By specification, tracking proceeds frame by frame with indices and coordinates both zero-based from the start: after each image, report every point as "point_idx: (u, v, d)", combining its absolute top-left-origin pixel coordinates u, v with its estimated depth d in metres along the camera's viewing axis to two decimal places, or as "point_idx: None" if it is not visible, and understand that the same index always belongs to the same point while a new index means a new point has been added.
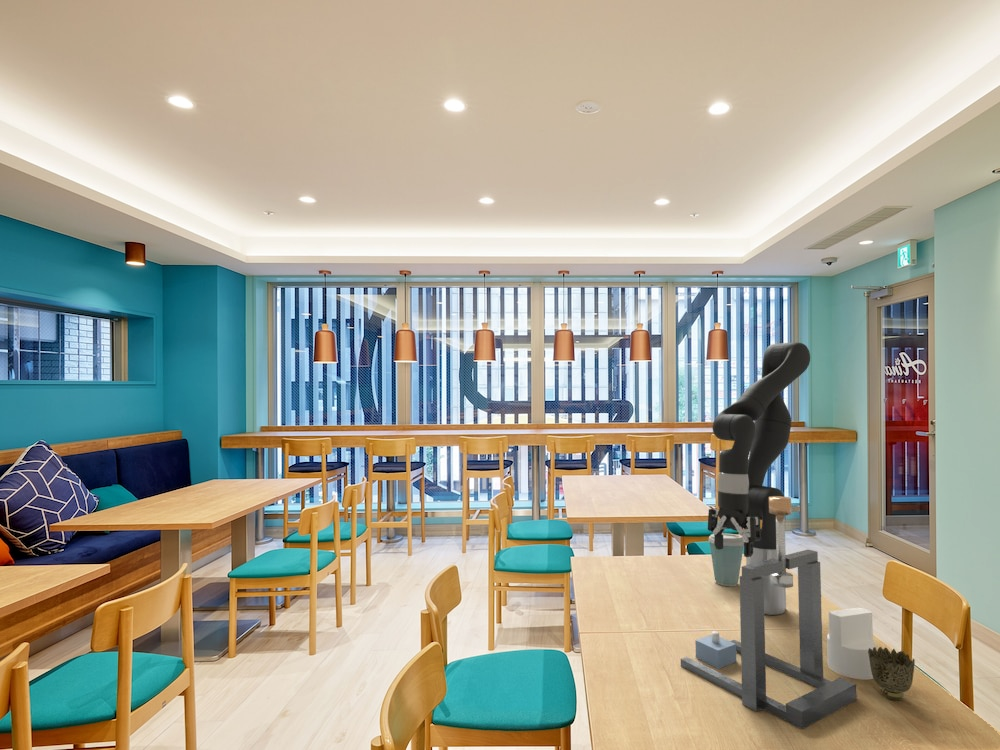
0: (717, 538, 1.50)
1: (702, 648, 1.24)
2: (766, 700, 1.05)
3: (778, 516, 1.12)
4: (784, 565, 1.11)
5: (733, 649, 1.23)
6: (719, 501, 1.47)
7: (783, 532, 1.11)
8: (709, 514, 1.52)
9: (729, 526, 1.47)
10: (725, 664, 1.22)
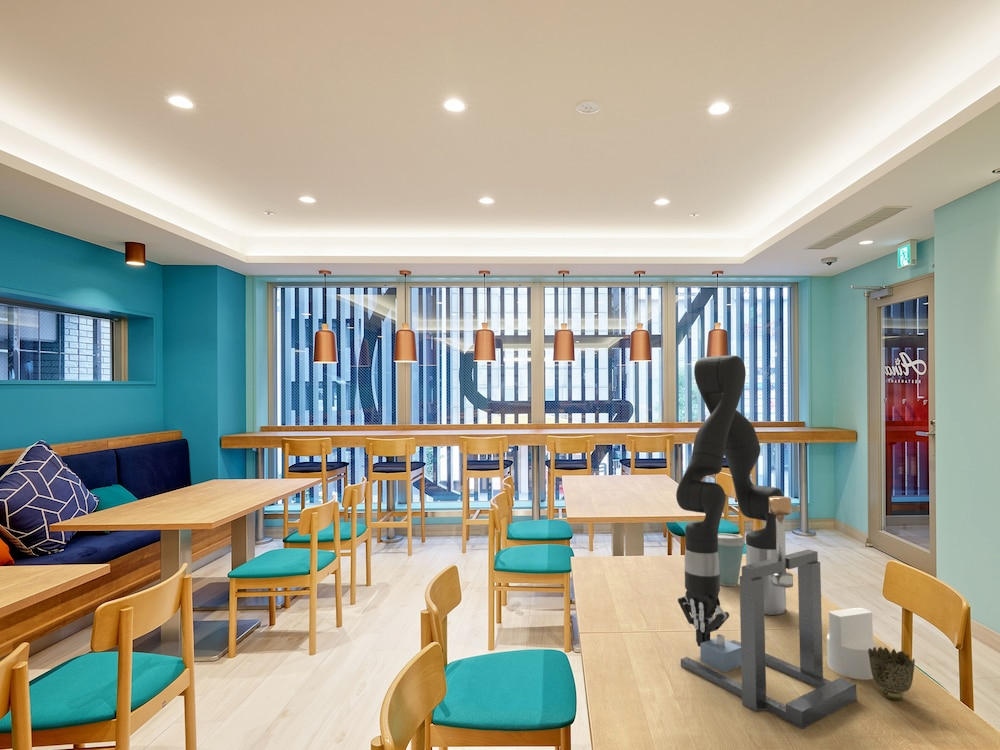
0: (699, 634, 1.27)
1: (707, 652, 1.22)
2: (766, 700, 1.05)
3: (778, 516, 1.12)
4: (784, 565, 1.11)
5: (738, 653, 1.22)
6: (686, 583, 1.28)
7: (783, 532, 1.11)
8: (681, 605, 1.32)
9: (698, 611, 1.28)
10: (730, 668, 1.20)
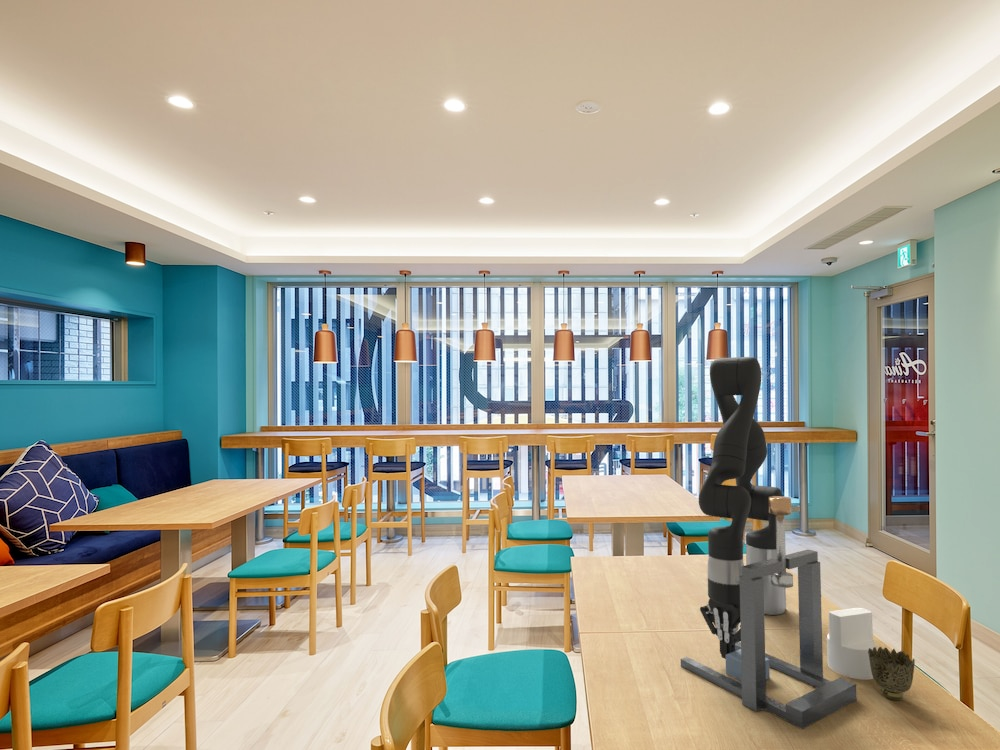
0: (723, 645, 1.22)
1: (733, 664, 1.17)
2: (766, 700, 1.05)
3: (778, 516, 1.12)
4: (784, 565, 1.11)
5: (766, 665, 1.16)
6: (709, 591, 1.22)
7: (783, 532, 1.11)
8: (703, 614, 1.26)
9: (722, 621, 1.22)
10: None
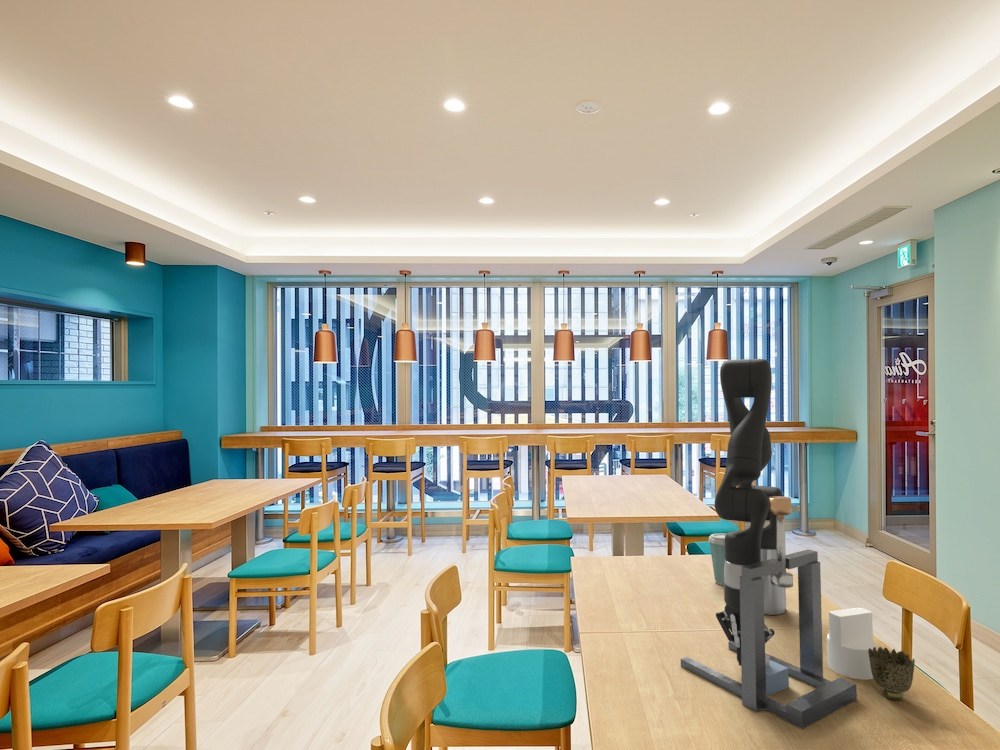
0: (740, 652, 1.18)
1: None
2: (766, 700, 1.05)
3: (778, 516, 1.12)
4: (784, 565, 1.11)
5: (785, 674, 1.12)
6: (726, 597, 1.19)
7: (783, 532, 1.11)
8: (719, 620, 1.23)
9: (739, 628, 1.18)
10: (777, 690, 1.11)
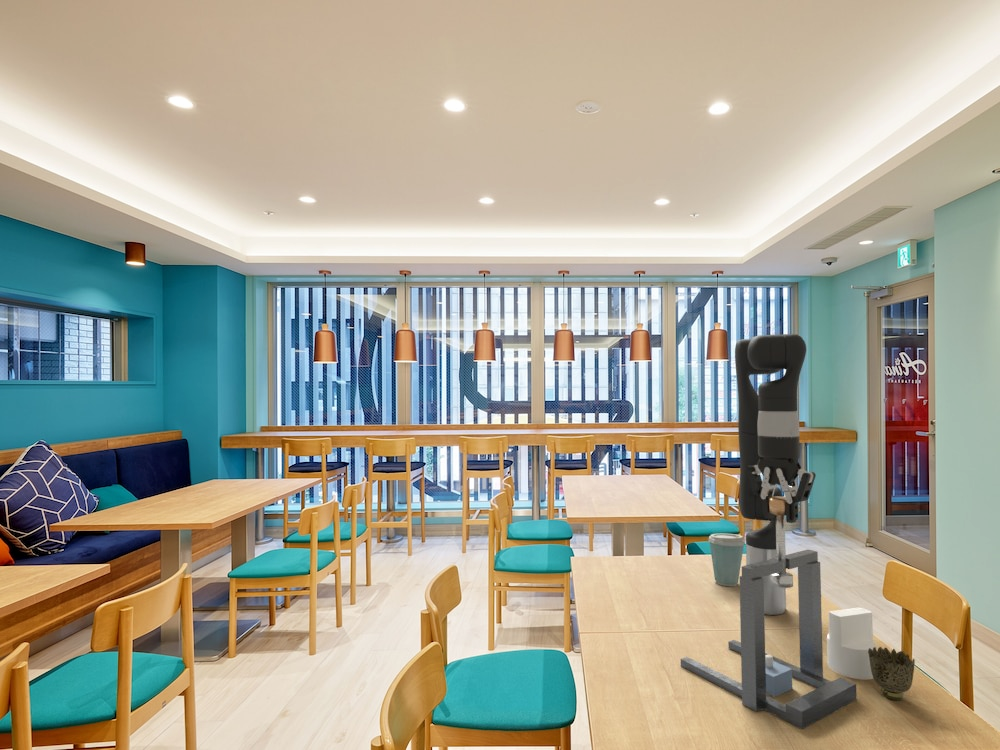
0: (766, 504, 1.14)
1: None
2: (766, 700, 1.05)
3: (778, 516, 1.12)
4: (784, 565, 1.11)
5: (788, 675, 1.12)
6: (760, 448, 1.12)
7: (783, 532, 1.11)
8: (748, 473, 1.17)
9: (774, 481, 1.12)
10: (781, 692, 1.10)
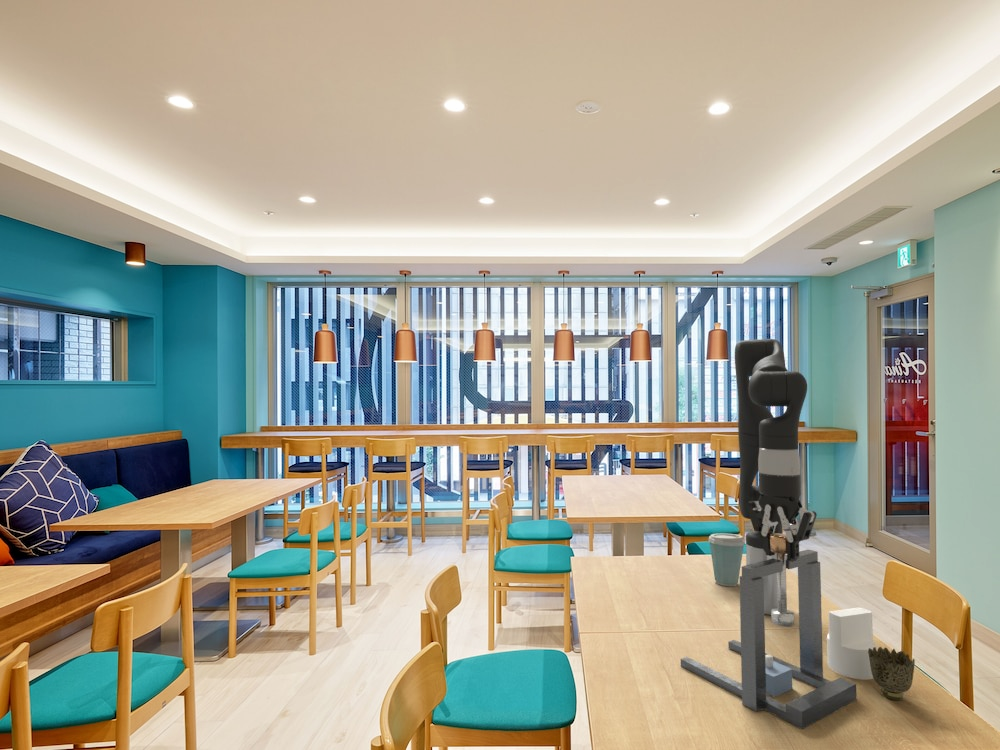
0: (767, 541, 1.13)
1: None
2: (766, 700, 1.05)
3: (779, 554, 1.11)
4: (785, 604, 1.11)
5: (788, 675, 1.12)
6: (761, 486, 1.12)
7: (784, 570, 1.11)
8: (749, 510, 1.17)
9: (775, 518, 1.12)
10: (781, 692, 1.10)
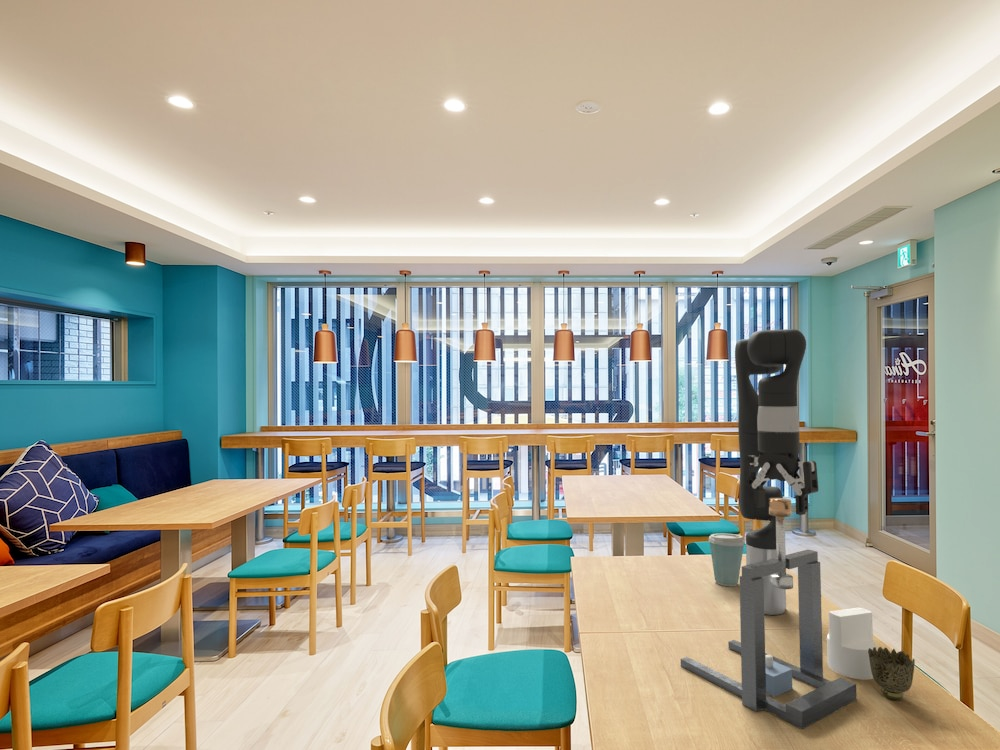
0: (757, 493, 1.15)
1: None
2: (766, 700, 1.05)
3: (778, 518, 1.12)
4: (784, 567, 1.11)
5: (788, 675, 1.12)
6: (760, 444, 1.12)
7: (783, 534, 1.11)
8: (746, 463, 1.17)
9: (774, 476, 1.12)
10: (781, 692, 1.10)
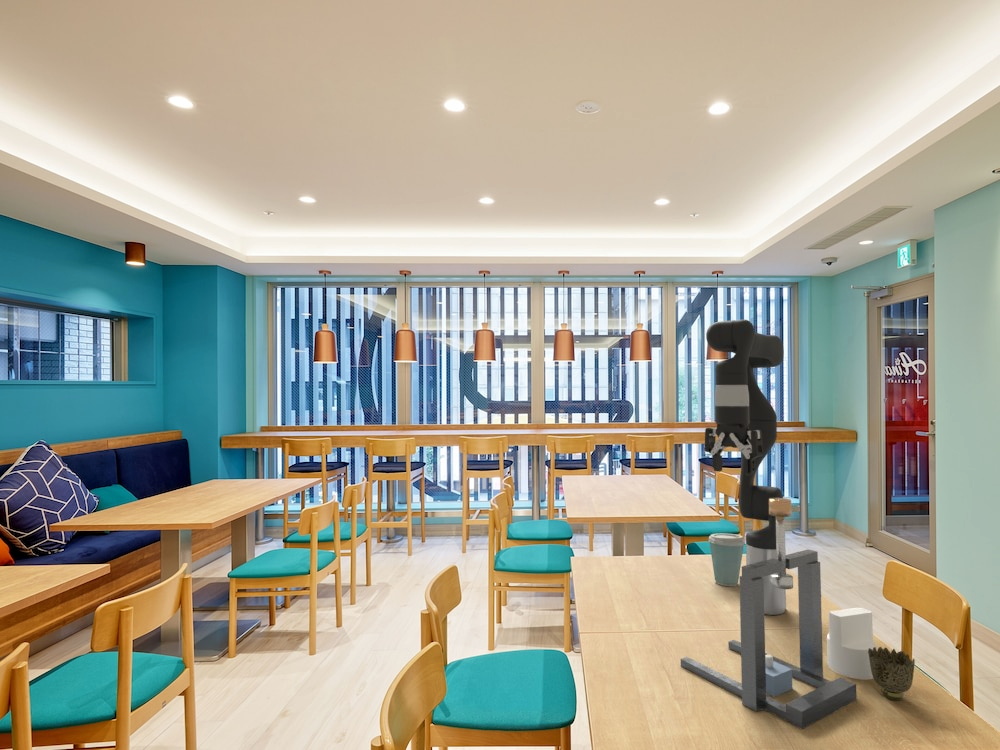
0: (715, 459, 1.36)
1: None
2: (766, 700, 1.05)
3: (778, 518, 1.12)
4: (784, 567, 1.11)
5: (788, 675, 1.12)
6: (716, 417, 1.33)
7: (783, 534, 1.11)
8: (706, 434, 1.38)
9: (728, 444, 1.33)
10: (781, 692, 1.10)
